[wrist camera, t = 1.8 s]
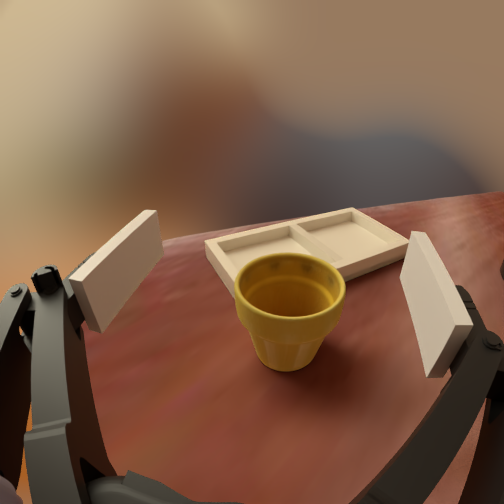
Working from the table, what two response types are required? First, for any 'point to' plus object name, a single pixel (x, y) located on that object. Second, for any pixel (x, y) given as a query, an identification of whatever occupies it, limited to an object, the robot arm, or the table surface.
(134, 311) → the table surface
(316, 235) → the divided tray
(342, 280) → the plant pot
